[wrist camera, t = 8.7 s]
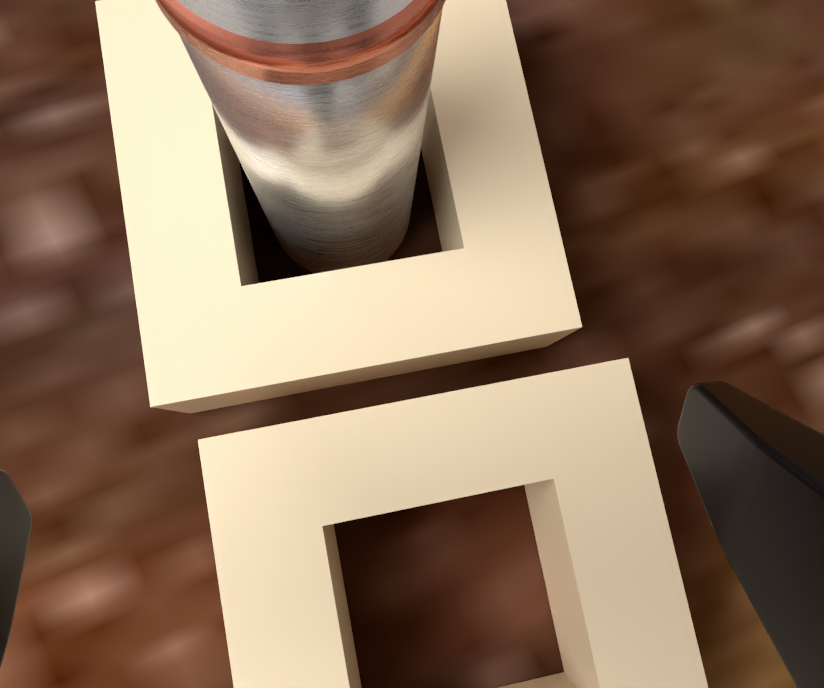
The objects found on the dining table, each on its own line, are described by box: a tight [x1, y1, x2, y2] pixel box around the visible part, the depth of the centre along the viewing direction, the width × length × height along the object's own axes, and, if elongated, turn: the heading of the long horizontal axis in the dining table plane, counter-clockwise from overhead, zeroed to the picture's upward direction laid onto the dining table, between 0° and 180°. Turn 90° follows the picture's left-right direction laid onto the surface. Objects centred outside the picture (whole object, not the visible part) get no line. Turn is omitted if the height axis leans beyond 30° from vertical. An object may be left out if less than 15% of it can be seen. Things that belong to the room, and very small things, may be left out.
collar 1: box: [95, 0, 582, 413], centre depth 19 cm, size 11×11×4 cm
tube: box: [155, 0, 446, 273], centre depth 13 cm, size 5×5×14 cm
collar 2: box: [198, 358, 708, 688], centre depth 17 cm, size 11×11×4 cm
